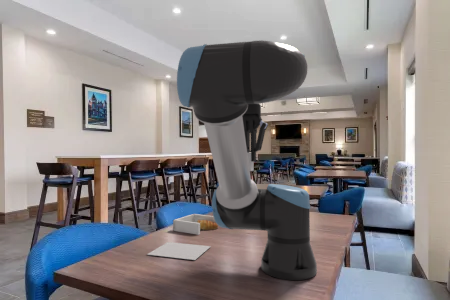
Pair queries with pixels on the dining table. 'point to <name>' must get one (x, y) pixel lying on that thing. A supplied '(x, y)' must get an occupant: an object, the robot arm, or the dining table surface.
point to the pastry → (207, 225)
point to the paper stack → (180, 250)
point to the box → (190, 223)
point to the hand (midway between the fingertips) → (250, 170)
